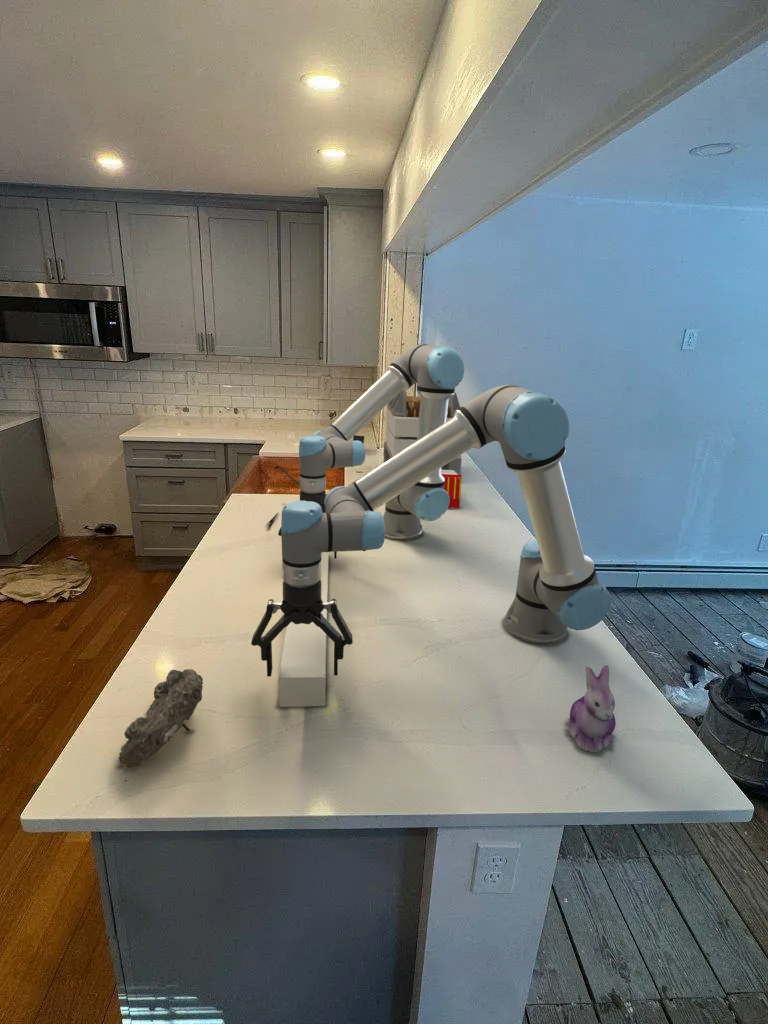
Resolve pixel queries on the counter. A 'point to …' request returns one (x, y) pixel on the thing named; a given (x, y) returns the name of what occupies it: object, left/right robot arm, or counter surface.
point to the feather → (271, 521)
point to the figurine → (594, 713)
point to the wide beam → (305, 658)
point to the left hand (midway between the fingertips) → (312, 556)
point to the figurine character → (358, 438)
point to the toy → (452, 487)
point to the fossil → (162, 717)
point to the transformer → (411, 426)
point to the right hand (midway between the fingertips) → (302, 672)
